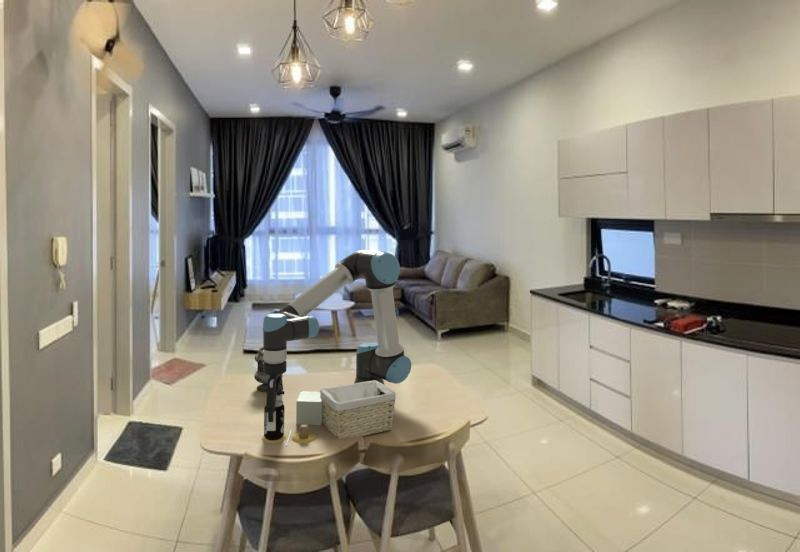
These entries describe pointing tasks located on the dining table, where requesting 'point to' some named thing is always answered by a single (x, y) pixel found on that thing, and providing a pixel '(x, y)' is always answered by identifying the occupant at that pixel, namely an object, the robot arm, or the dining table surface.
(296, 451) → the dining table surface
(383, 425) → the storage basket
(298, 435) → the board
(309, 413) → the cover
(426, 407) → the dining table surface
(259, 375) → the apothecary jar
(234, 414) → the dining table surface
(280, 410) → the beverage can
